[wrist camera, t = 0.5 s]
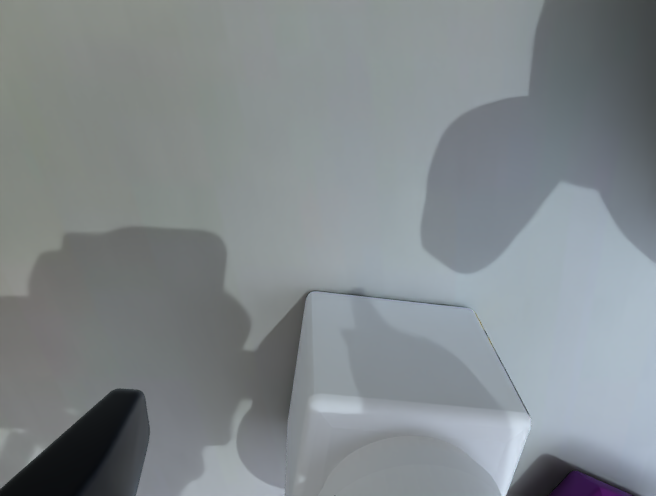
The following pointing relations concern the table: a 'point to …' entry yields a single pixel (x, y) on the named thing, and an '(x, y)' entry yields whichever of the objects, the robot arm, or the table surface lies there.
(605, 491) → the perfume bottle
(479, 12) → the table surface
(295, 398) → the medicine bottle
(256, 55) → the table surface
